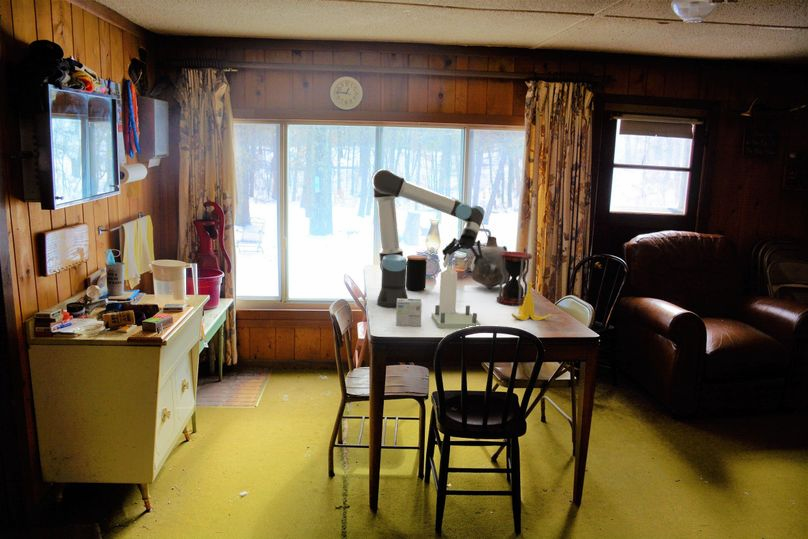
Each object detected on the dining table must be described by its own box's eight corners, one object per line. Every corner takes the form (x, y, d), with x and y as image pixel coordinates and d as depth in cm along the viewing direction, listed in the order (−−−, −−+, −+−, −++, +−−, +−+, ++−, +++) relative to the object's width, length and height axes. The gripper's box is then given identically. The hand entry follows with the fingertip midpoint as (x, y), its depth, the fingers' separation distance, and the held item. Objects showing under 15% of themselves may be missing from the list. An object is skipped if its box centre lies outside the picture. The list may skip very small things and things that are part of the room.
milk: (438, 312, 296) (440, 266, 292) (443, 310, 302) (445, 264, 298) (450, 314, 294) (453, 267, 290) (455, 311, 299) (457, 265, 295)
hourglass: (491, 299, 330) (494, 251, 326) (519, 298, 335) (522, 251, 330) (505, 306, 315) (508, 256, 310) (534, 305, 320) (538, 256, 315)
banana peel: (510, 321, 287) (513, 284, 284) (518, 312, 304) (521, 277, 301) (547, 326, 281) (550, 288, 278) (554, 316, 298) (556, 281, 295)
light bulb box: (420, 322, 277) (421, 298, 275) (421, 326, 271) (422, 302, 269) (395, 321, 277) (396, 297, 275) (396, 326, 270) (397, 301, 268)
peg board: (438, 328, 269) (438, 314, 268) (431, 317, 287) (432, 304, 286) (480, 328, 271) (480, 314, 270) (470, 317, 289) (471, 304, 288)
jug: (518, 292, 350) (522, 237, 345) (483, 293, 343) (487, 238, 337) (495, 283, 373) (499, 232, 368) (463, 284, 365) (466, 232, 360)
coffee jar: (425, 288, 351) (427, 255, 348) (424, 292, 341) (426, 258, 338) (406, 286, 352) (407, 254, 349) (404, 290, 342) (406, 257, 339)
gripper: (495, 240, 311) (484, 275, 301) (448, 235, 322) (435, 269, 311) (493, 230, 306) (481, 265, 295) (444, 226, 316) (431, 260, 305)
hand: (457, 267), depth 303 cm, fingers open, 13 cm apart
